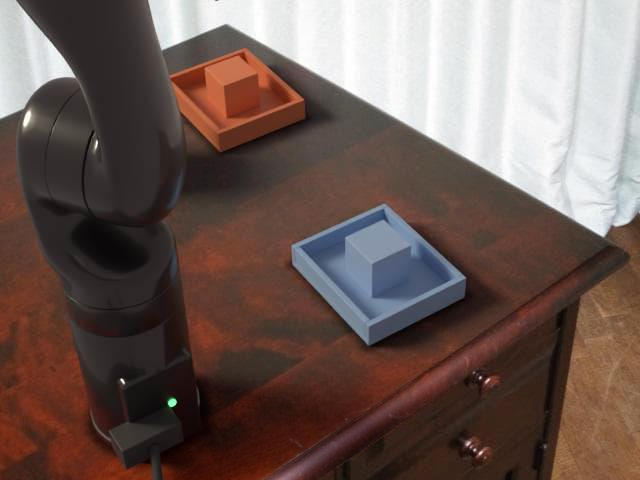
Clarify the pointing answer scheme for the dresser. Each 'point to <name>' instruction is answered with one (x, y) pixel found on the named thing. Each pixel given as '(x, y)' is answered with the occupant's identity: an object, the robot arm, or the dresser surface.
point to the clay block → (232, 86)
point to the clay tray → (226, 133)
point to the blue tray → (392, 305)
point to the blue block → (377, 258)
